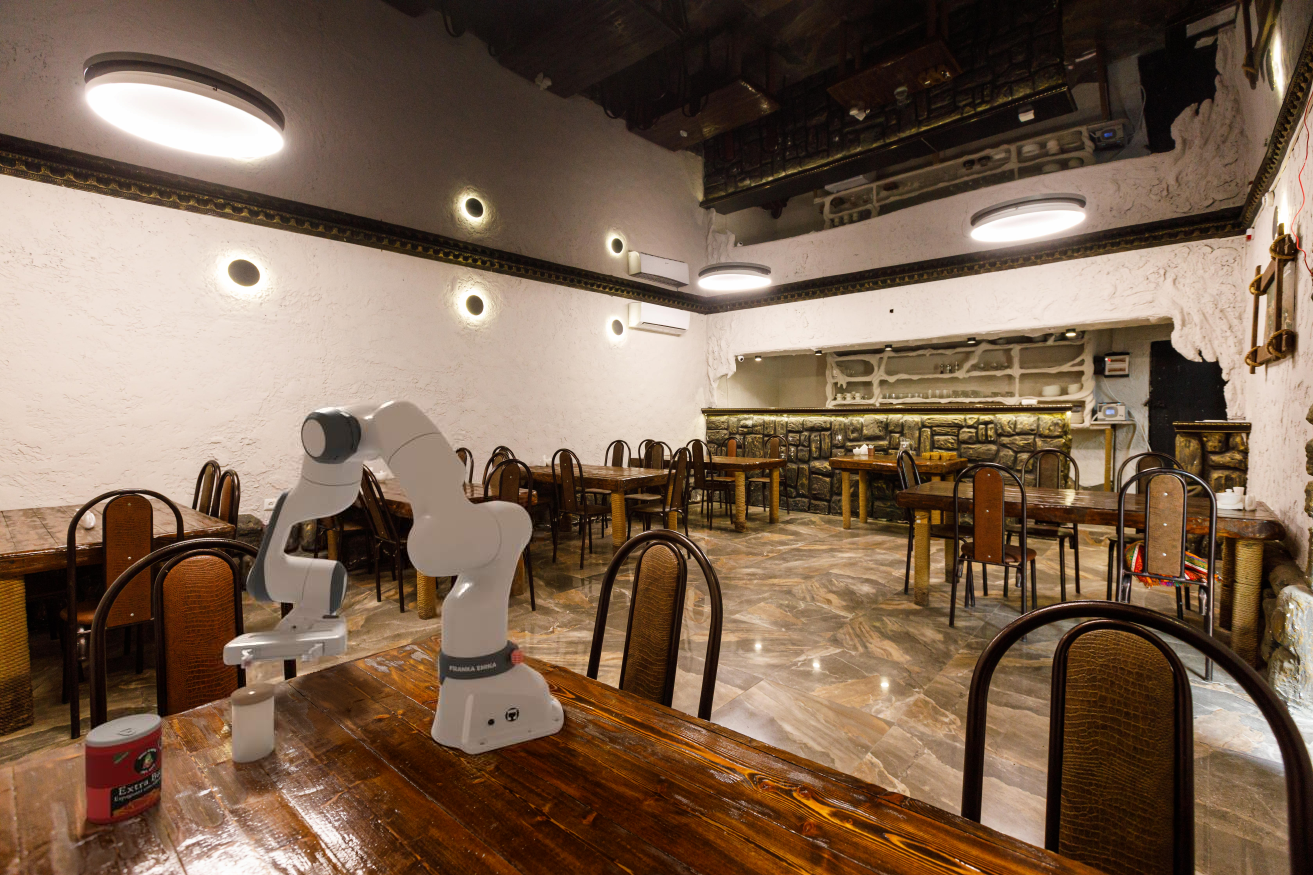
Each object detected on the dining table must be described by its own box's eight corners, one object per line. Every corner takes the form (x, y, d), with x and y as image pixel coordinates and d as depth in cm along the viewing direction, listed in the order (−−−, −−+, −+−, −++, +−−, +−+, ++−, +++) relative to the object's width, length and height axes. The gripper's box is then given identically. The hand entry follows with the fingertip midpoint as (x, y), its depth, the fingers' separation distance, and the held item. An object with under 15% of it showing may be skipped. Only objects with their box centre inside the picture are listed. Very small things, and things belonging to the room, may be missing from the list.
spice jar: (279, 740, 95) (279, 680, 95) (268, 759, 90) (267, 696, 90) (239, 746, 94) (239, 685, 93) (224, 765, 88) (224, 701, 88)
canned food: (116, 829, 74) (116, 744, 74) (68, 820, 75) (68, 738, 75) (176, 792, 81) (176, 716, 81) (132, 785, 83) (132, 710, 83)
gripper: (239, 623, 113) (208, 649, 100) (353, 615, 119) (338, 638, 106) (238, 654, 113) (207, 684, 100) (353, 644, 120) (338, 671, 106)
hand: (276, 660), depth 103 cm, fingers open, 8 cm apart
